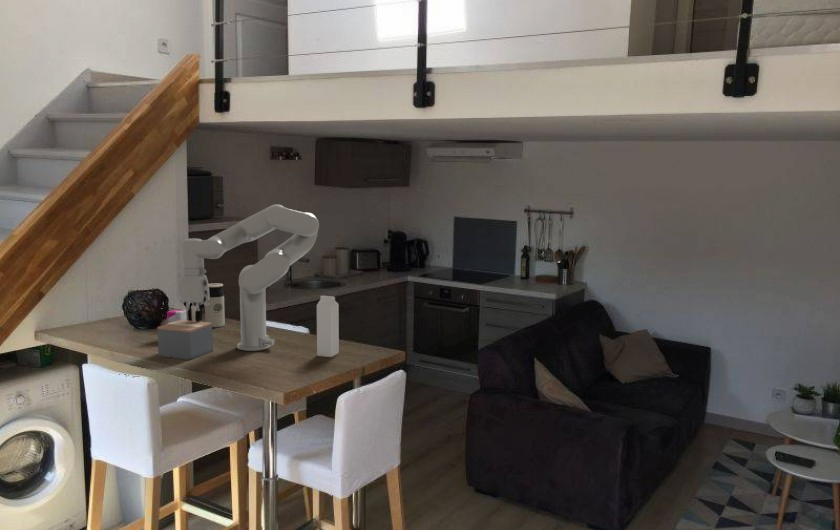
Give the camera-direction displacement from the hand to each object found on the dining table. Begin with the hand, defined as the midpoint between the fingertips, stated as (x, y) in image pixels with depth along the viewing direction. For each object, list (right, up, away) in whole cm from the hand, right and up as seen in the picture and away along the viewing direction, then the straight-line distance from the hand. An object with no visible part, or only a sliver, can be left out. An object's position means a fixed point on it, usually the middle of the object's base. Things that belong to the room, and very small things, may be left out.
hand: (195, 320), depth 262 cm
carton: (-2, -12, -4) cm, 13 cm away
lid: (-2, -2, -5) cm, 6 cm away
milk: (+50, -13, -3) cm, 52 cm away
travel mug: (-4, -6, +41) cm, 41 cm away
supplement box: (-13, -9, +17) cm, 23 cm away
